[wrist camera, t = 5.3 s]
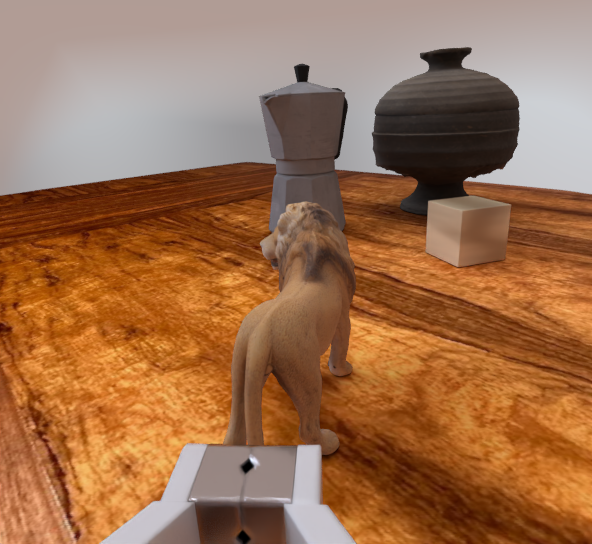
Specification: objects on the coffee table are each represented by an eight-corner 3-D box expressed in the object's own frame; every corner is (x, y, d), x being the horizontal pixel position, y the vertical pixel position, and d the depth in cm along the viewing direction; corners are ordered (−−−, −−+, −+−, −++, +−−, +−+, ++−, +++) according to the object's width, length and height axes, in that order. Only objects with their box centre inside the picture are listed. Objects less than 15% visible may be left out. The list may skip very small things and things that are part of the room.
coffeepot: (308, 248, 47) (301, 55, 41) (240, 237, 53) (225, 65, 47) (377, 217, 59) (379, 63, 53) (316, 210, 64) (312, 70, 58)
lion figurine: (271, 336, 29) (260, 196, 26) (354, 337, 29) (354, 193, 26) (204, 539, 16) (168, 295, 13) (362, 548, 15) (363, 295, 12)
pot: (338, 207, 62) (349, 44, 56) (412, 197, 74) (427, 62, 68) (463, 230, 50) (493, 26, 44) (526, 214, 62) (557, 52, 56)
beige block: (468, 245, 46) (473, 195, 44) (505, 259, 41) (511, 204, 40) (425, 252, 44) (428, 200, 43) (458, 267, 40) (462, 210, 38)
